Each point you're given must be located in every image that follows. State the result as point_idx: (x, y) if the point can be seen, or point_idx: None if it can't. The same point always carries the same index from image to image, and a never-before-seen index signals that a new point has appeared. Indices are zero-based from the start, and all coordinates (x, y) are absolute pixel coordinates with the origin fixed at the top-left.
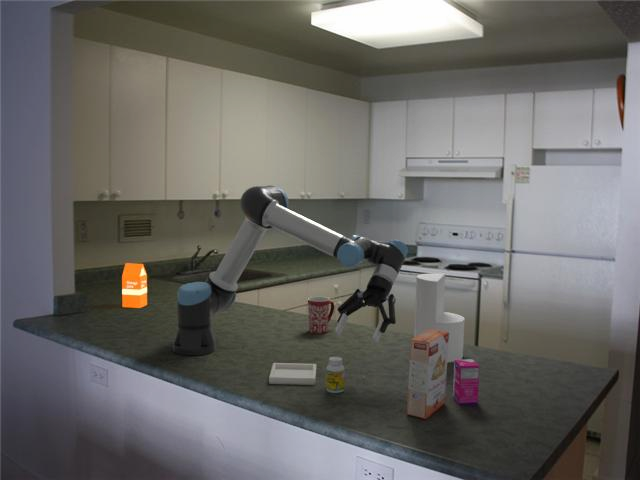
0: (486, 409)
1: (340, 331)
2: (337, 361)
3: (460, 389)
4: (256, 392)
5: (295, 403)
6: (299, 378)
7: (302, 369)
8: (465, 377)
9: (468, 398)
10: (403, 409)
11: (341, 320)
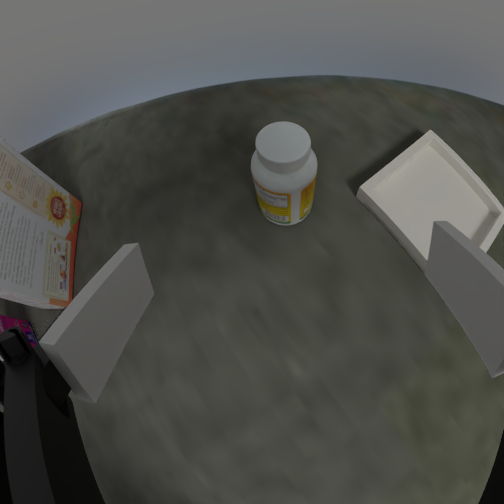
0: None
1: (436, 272)
2: (260, 131)
3: (5, 317)
4: (393, 97)
5: (295, 98)
6: (388, 164)
7: None
8: None
9: None
10: (94, 222)
11: (484, 264)
